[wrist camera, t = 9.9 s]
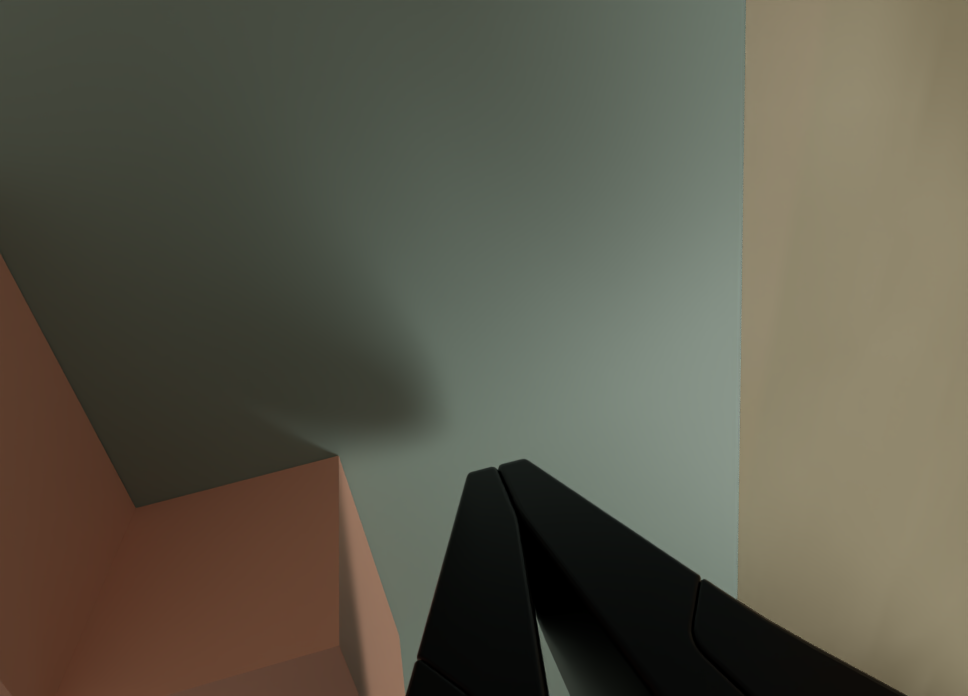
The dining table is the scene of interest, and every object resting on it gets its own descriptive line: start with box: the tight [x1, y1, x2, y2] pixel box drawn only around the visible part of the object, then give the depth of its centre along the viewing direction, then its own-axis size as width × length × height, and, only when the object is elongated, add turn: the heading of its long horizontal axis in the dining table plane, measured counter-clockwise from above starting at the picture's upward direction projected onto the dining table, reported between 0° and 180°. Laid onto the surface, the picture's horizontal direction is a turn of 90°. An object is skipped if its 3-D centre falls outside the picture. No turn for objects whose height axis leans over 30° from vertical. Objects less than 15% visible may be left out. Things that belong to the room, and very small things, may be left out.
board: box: [0, 0, 746, 696], centre depth 11 cm, size 23×24×1 cm
